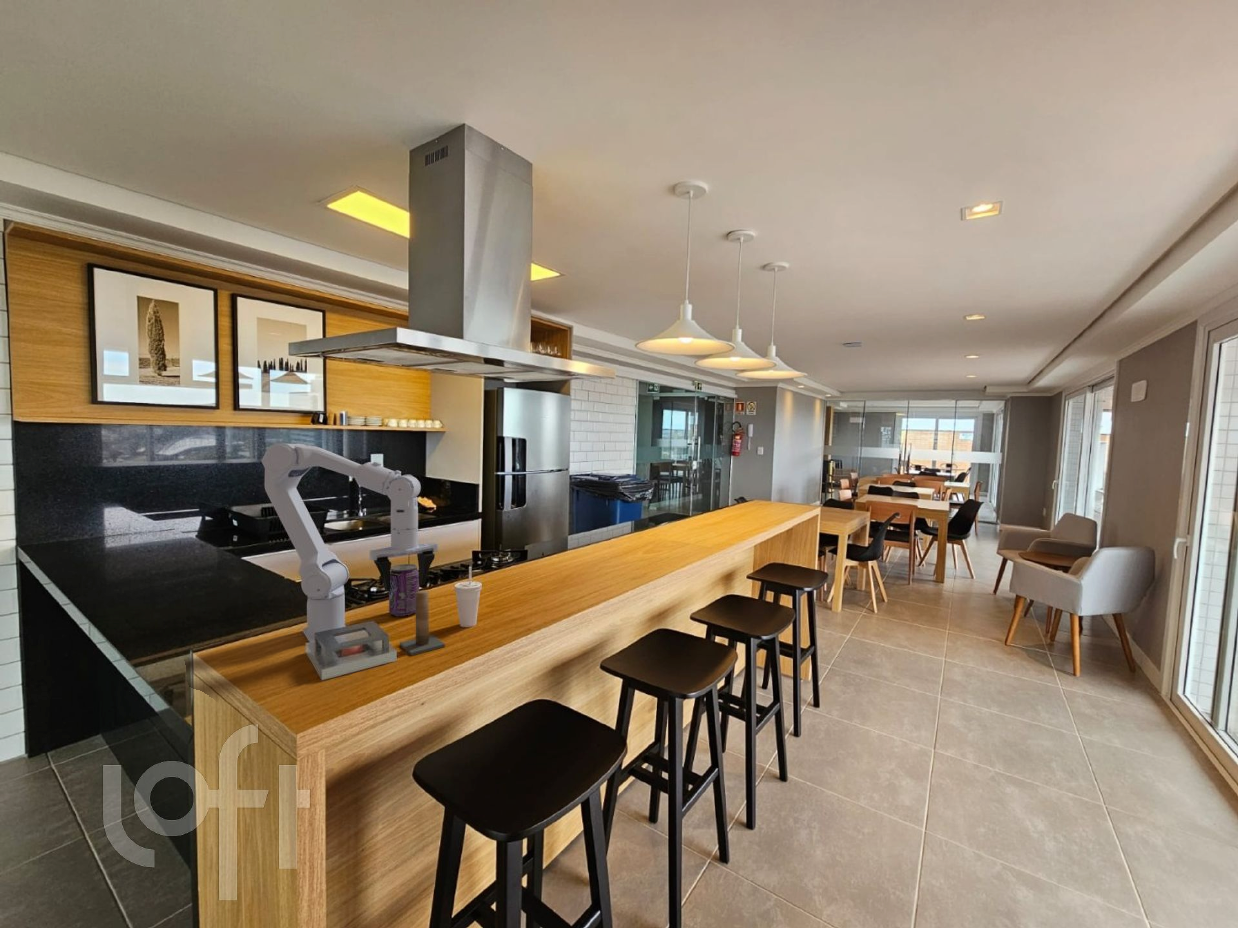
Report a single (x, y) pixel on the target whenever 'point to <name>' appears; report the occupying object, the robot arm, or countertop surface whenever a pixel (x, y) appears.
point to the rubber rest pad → (415, 649)
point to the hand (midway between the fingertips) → (404, 586)
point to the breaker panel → (350, 660)
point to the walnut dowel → (422, 618)
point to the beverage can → (403, 589)
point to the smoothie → (468, 601)
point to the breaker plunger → (351, 651)
